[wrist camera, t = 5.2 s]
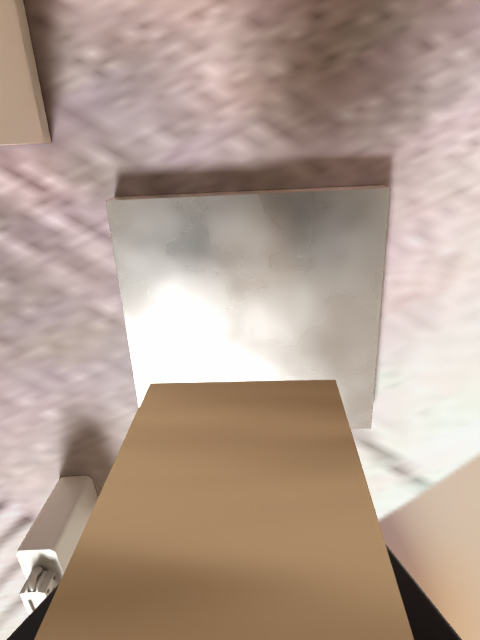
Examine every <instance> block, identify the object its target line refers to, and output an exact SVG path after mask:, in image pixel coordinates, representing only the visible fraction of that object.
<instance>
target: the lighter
mask: <svg viewBox="0 0 480 640" xmlns="http://www.w3.org/2000/svg"><path fill="white" fill-rule="evenodd" d="M97 499H98V495H97V492H96V489H95V485H94V482H93V479H92V477H90V476H88V475H84V476H66V477H61V478H60V479H59V481H58V483H57V484H56V486H55V488H54V489H53V491H52V493H51V494H50V496H49V498H48V500H47V501H46V503H45V505H44V506H43V508H42V510H41V511H40V513H39V515H38V517H37V518H36V520H35V522H34V523H33V525H32V527H31V528H30V530H29V532H28V534H27V535H26V537H25V539H24V540H23V542H22V544H21V545H20V547H19V549H18V551H17V552H16V556H17V558H18V561H19V563H20V565H21V568H22V570H23V573H24V575H25V577H26V580H27V581H26V582H25V584H24V586H23V588H22V590H21V592H20V596H21V599H22V601H23V603H24V606H25V608H26V610H27V612H28V615H30V614H31V613H32V612H33V611H34V610H35V609H36V608H37V607H38V605H39V604H40V603H41V602H42V601H43V600H44V599H45V598H46V597H47V596H48V595H49V594H50V593H51V591H52V590H53V589H54V588H55V587H56V586H57V585H58V584H59V583H60V581H61V579H62V577H63V575H64V572H65V570H66V568H67V566H68V564H69V561H70V559H71V557H72V555H73V552H74V550H75V548H76V546H77V544H78V541H79V539H80V537H81V535H82V533H83V530H84V528H85V526H86V524H87V521H88V519H89V517H90V515H91V513H92V510H93V508H94V506H95V504H96V502H97Z"/></svg>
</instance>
